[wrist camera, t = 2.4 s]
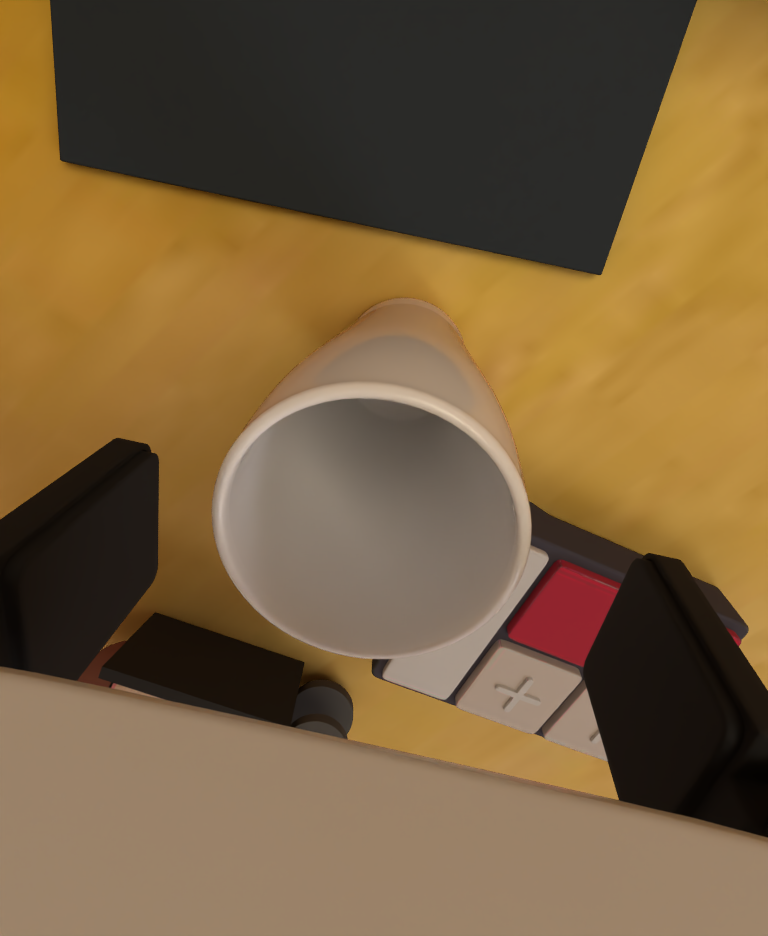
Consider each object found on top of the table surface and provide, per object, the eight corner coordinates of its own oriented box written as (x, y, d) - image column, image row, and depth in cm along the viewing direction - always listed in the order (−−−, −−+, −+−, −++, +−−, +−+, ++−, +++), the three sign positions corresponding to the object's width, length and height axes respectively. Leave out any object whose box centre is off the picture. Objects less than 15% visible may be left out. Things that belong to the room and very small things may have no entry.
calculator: (621, 777, 30) (367, 688, 28) (596, 710, 34) (372, 627, 31) (764, 641, 25) (473, 519, 23) (717, 581, 29) (463, 471, 27)
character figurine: (340, 725, 36) (116, 645, 35) (379, 655, 32) (131, 563, 31) (311, 857, 29) (33, 764, 28) (357, 788, 26) (39, 678, 24)
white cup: (507, 311, 24) (602, 457, 10) (446, 447, 26) (456, 701, 13) (357, 253, 23) (246, 323, 10) (311, 397, 26) (177, 608, 13)
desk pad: (68, 161, 22) (59, 160, 22) (38, -371, 16) (24, -391, 16) (597, 273, 23) (601, 275, 22) (765, -213, 16) (776, -227, 16)
